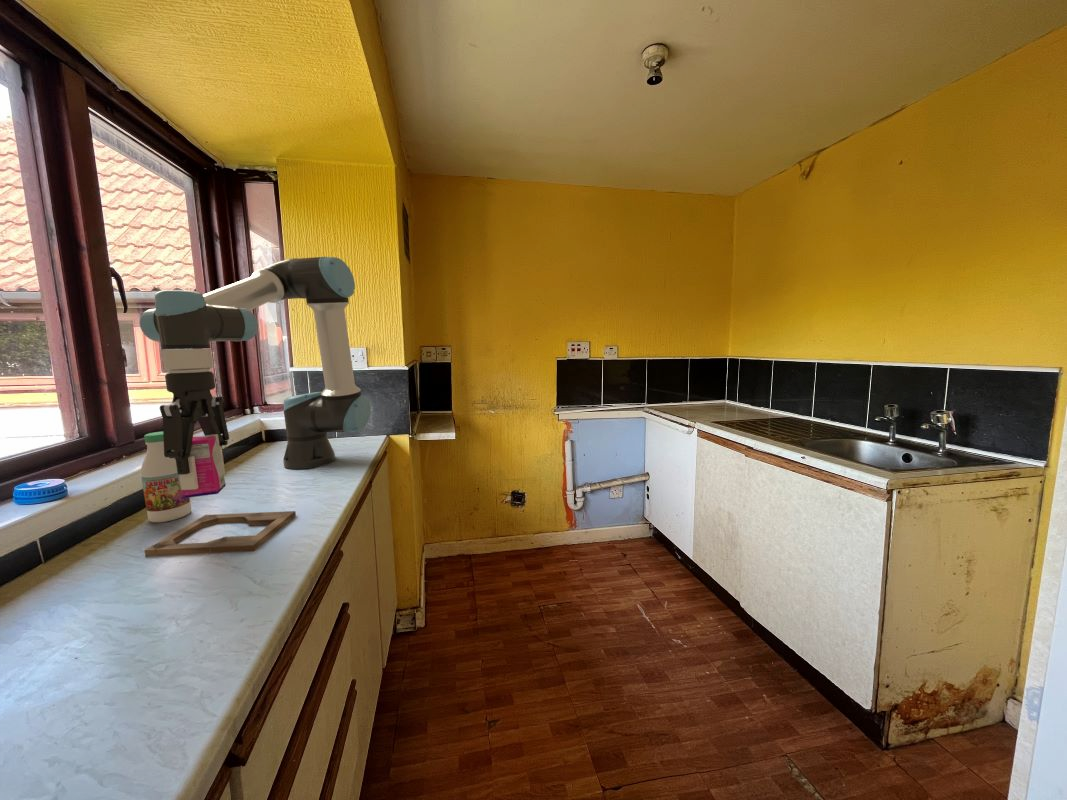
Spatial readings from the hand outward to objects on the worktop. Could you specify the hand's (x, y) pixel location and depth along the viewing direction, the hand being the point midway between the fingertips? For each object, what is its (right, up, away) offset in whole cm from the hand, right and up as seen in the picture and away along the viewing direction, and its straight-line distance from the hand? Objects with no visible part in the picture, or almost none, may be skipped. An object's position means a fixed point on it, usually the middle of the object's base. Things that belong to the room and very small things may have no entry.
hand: (204, 482), depth 86 cm
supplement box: (0, -2, 0) cm, 2 cm away
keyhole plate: (+3, -11, +2) cm, 12 cm away
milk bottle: (-17, -11, +12) cm, 24 cm away
